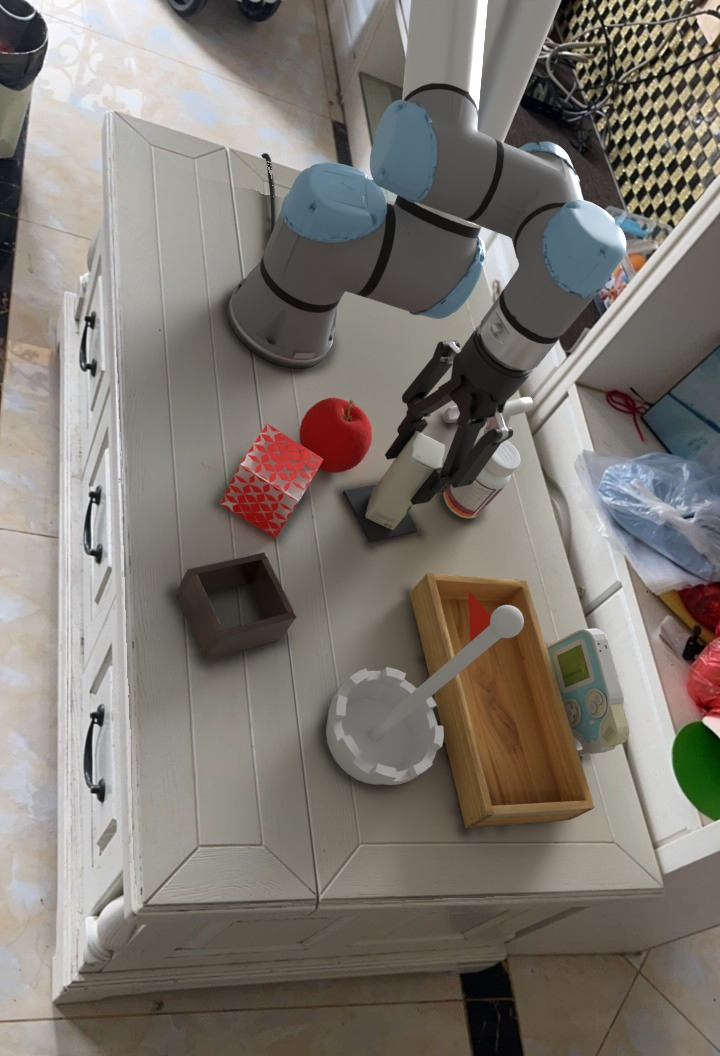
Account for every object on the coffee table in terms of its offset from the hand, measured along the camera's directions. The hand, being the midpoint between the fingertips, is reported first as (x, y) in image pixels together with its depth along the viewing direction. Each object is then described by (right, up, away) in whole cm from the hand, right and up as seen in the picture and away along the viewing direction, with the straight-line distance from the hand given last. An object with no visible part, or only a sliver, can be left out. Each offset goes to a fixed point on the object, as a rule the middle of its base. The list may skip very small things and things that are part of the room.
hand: (407, 478), depth 110 cm
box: (-3, -3, +6) cm, 8 cm away
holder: (-21, -18, -11) cm, 29 cm away
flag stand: (-5, -32, -10) cm, 33 cm away
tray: (+9, -28, -1) cm, 30 cm away
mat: (-3, -3, +6) cm, 8 cm away
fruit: (-11, +4, +7) cm, 14 cm away
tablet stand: (+11, +11, +22) cm, 27 cm away
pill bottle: (+8, -1, +14) cm, 16 cm away
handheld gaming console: (+20, -29, +4) cm, 36 cm away
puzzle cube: (-18, -3, -1) cm, 19 cm away
